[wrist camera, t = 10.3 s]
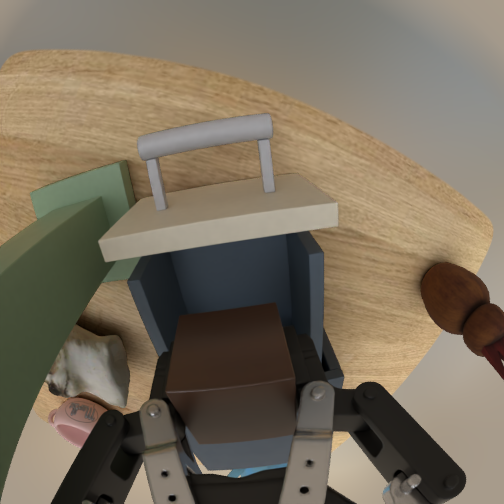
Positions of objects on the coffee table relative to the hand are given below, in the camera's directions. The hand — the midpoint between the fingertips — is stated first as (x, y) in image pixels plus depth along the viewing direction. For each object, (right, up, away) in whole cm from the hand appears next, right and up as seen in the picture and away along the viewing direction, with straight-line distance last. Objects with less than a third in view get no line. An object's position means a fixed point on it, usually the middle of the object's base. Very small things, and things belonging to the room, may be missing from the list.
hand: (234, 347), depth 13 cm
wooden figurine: (+21, +2, +13) cm, 24 cm away
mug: (-24, -19, +18) cm, 35 cm away
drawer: (-1, +5, +8) cm, 10 cm away
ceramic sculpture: (-18, -4, +12) cm, 22 cm away
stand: (-12, +7, +7) cm, 16 cm away
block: (0, 0, 0) cm, 0 cm away
